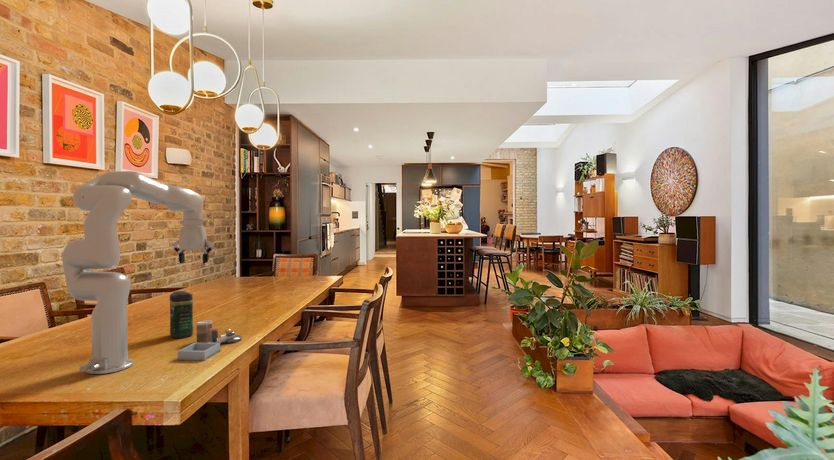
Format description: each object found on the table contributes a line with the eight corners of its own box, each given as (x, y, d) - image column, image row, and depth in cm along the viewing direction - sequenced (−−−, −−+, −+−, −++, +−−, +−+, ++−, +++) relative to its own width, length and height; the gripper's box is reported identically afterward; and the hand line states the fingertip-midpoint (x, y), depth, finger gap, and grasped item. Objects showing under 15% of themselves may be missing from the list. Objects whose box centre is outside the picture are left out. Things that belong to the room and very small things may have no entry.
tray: (204, 360, 144) (204, 351, 144) (177, 359, 144) (177, 351, 144) (220, 351, 153) (220, 343, 153) (194, 350, 154) (194, 342, 154)
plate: (235, 337, 171) (235, 336, 171) (222, 339, 169) (222, 338, 169) (233, 334, 176) (233, 333, 176) (220, 336, 173) (220, 335, 173)
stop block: (206, 343, 163) (206, 323, 162) (196, 343, 163) (196, 322, 163) (212, 340, 167) (212, 320, 166) (202, 340, 167) (202, 320, 167)
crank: (229, 335, 169) (228, 321, 168) (237, 336, 168) (237, 322, 167) (208, 344, 157) (208, 329, 157) (217, 344, 156) (217, 329, 156)
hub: (235, 343, 162) (235, 340, 162) (215, 343, 163) (215, 340, 163) (245, 337, 170) (245, 334, 170) (226, 337, 171) (226, 334, 171)
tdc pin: (228, 336, 171) (228, 330, 171) (224, 336, 171) (224, 330, 171) (231, 335, 173) (231, 328, 173) (226, 335, 173) (226, 328, 173)
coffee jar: (195, 336, 173) (195, 291, 172) (174, 339, 167) (173, 294, 166) (188, 331, 180) (188, 288, 179) (168, 334, 174) (167, 291, 173)
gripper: (167, 223, 174) (168, 264, 175) (210, 223, 175) (210, 263, 176) (176, 223, 181) (177, 261, 182) (217, 223, 183) (217, 261, 184)
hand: (193, 262), depth 179 cm, fingers open, 9 cm apart
